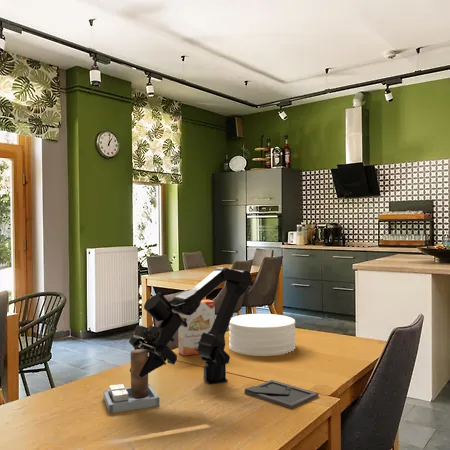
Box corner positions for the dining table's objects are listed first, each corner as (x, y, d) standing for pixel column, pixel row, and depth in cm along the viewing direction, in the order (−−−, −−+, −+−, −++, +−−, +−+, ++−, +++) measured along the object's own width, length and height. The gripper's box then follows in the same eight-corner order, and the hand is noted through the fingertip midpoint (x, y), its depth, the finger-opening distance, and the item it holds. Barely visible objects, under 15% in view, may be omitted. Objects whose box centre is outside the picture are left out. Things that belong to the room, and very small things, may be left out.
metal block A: (123, 397, 141) (123, 383, 141) (125, 401, 137) (125, 388, 137) (109, 399, 139) (109, 385, 139) (111, 403, 135) (111, 390, 135)
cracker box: (183, 356, 186) (183, 303, 186) (178, 353, 191) (177, 301, 191) (215, 352, 192) (215, 300, 192) (209, 348, 198) (208, 298, 198)
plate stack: (216, 349, 196) (215, 322, 196) (251, 336, 220) (250, 311, 219) (275, 360, 181) (275, 330, 181) (306, 344, 204) (306, 317, 204)
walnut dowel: (149, 392, 141) (148, 348, 140) (147, 398, 136) (146, 353, 136) (132, 392, 140) (131, 349, 140) (129, 399, 135) (129, 354, 135)
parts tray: (150, 394, 145) (150, 384, 145) (159, 408, 134) (159, 397, 134) (103, 400, 140) (103, 390, 140) (109, 416, 129) (109, 405, 129)
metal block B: (126, 403, 136) (125, 389, 136) (128, 408, 132) (128, 393, 132) (111, 405, 135) (111, 391, 135) (114, 410, 131) (113, 395, 131)
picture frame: (244, 395, 145) (291, 411, 133) (244, 388, 145) (291, 404, 132) (271, 384, 155) (318, 398, 142) (271, 378, 155) (318, 391, 142)
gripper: (133, 310, 147) (101, 352, 140) (168, 318, 134) (134, 366, 126) (155, 331, 153) (125, 372, 145) (190, 341, 139) (159, 388, 132)
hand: (135, 374), depth 137 cm, fingers closed on walnut dowel, 5 cm apart
